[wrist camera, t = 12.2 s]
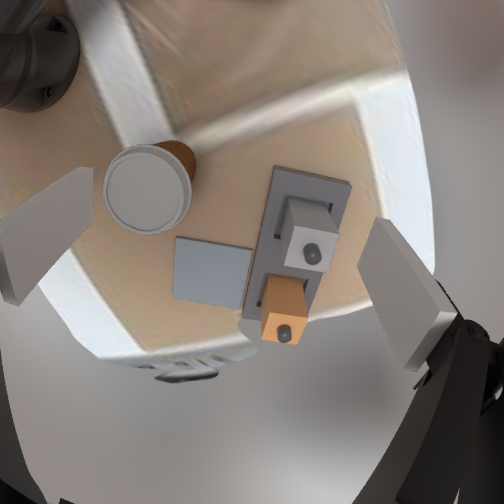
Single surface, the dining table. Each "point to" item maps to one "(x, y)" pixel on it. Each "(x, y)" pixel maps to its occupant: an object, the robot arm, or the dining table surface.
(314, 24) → the dining table surface
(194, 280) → the mat
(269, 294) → the plug
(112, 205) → the disposable coffee cup
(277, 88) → the dining table surface
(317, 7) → the dining table surface
